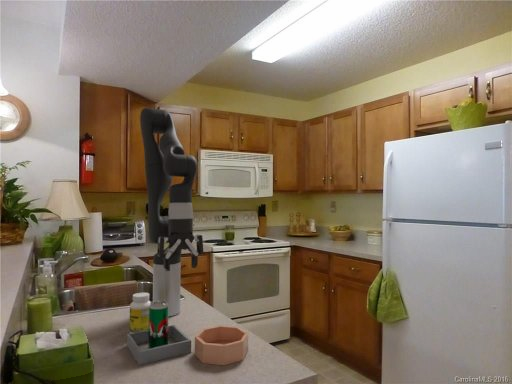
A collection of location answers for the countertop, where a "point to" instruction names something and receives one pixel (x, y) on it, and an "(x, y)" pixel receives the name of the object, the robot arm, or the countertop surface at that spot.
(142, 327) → the pill bottle
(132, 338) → the grey square frame
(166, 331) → the soda can
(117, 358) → the countertop surface
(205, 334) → the bowl
